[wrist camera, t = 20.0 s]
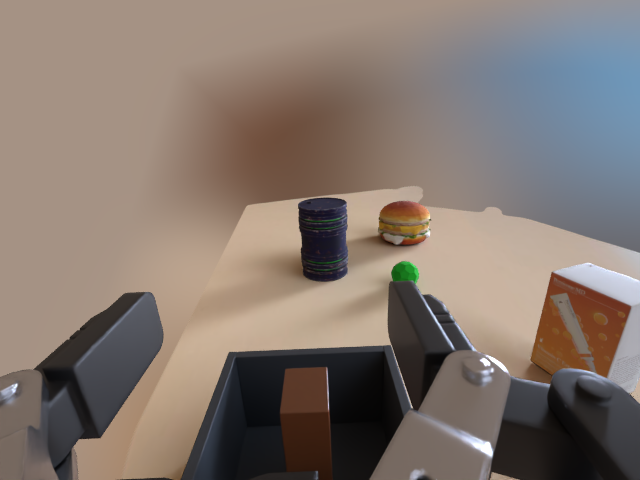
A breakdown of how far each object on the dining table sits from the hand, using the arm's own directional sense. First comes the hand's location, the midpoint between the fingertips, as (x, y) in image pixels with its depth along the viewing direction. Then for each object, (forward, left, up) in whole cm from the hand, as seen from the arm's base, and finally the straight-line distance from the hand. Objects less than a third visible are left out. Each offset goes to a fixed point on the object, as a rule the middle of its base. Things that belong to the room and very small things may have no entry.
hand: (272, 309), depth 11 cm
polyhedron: (+17, +45, -25) cm, 54 cm away
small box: (+32, +21, -25) cm, 46 cm away
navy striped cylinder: (+2, +53, -25) cm, 59 cm away
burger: (+23, +70, -25) cm, 78 cm away
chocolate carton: (0, +8, -24) cm, 25 cm away
